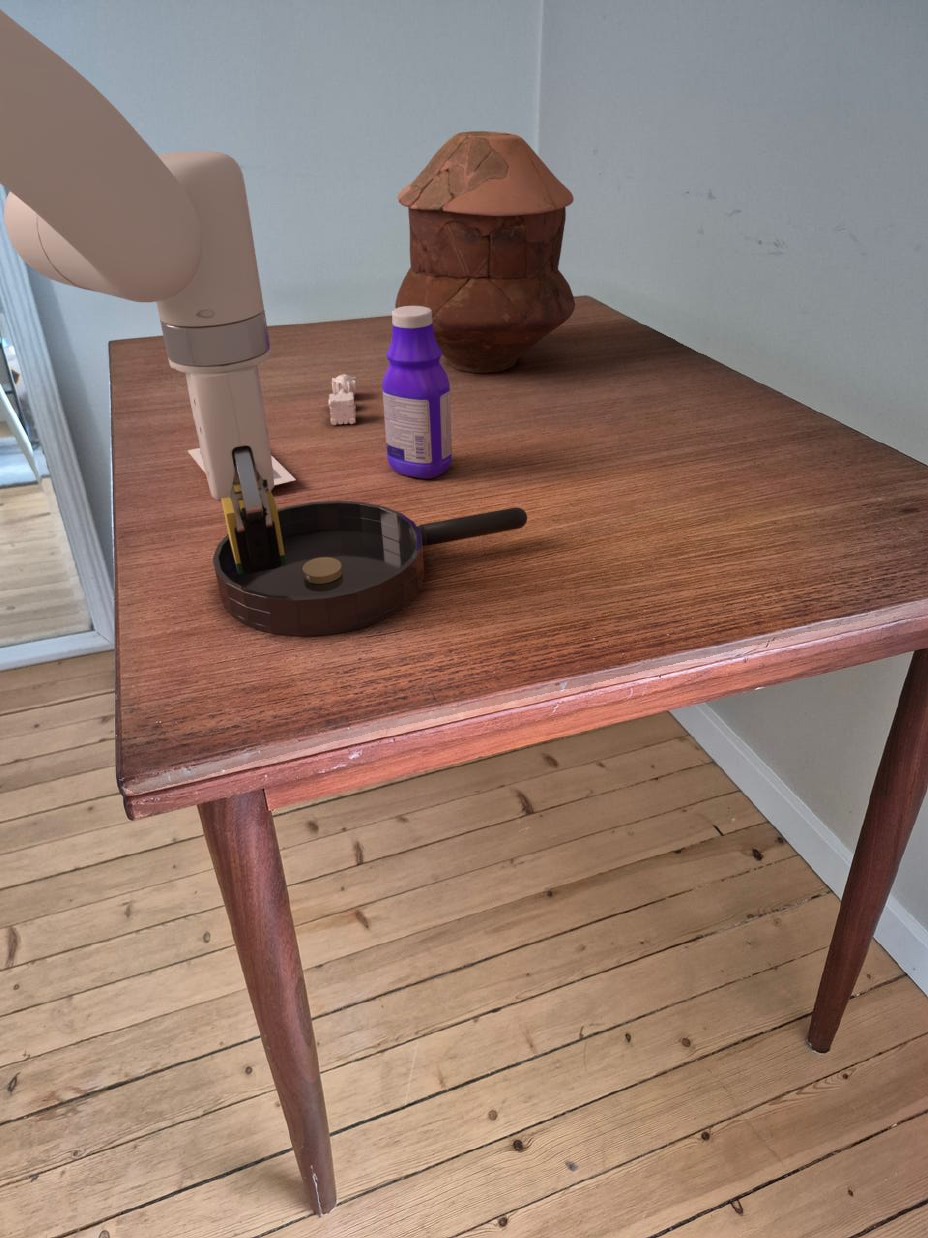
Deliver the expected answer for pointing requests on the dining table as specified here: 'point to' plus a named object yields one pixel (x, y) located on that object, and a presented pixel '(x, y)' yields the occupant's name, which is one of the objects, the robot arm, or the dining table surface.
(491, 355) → the pottery vessel
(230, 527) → the sponge
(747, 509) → the dining table surface
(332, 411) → the game pieces
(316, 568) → the disc
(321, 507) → the pan
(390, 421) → the bottle
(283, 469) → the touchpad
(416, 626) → the dining table surface
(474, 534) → the pan handle
